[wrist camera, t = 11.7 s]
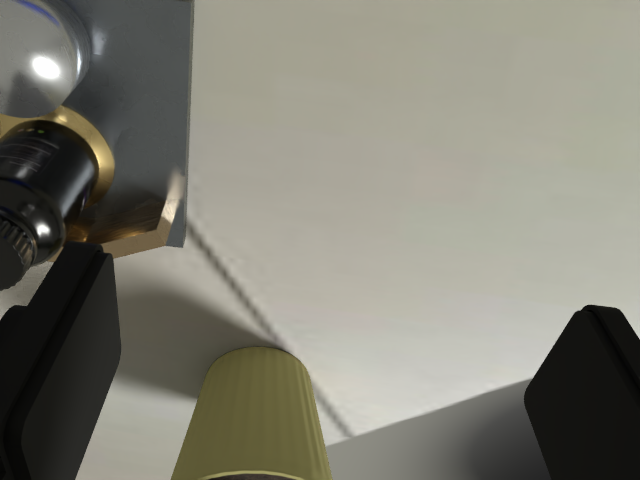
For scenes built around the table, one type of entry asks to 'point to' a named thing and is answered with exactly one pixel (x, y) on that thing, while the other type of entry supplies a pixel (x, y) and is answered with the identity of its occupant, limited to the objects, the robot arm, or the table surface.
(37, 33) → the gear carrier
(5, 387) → the robot arm
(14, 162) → the supplement bottle
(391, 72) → the table surface
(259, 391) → the potted cactus
